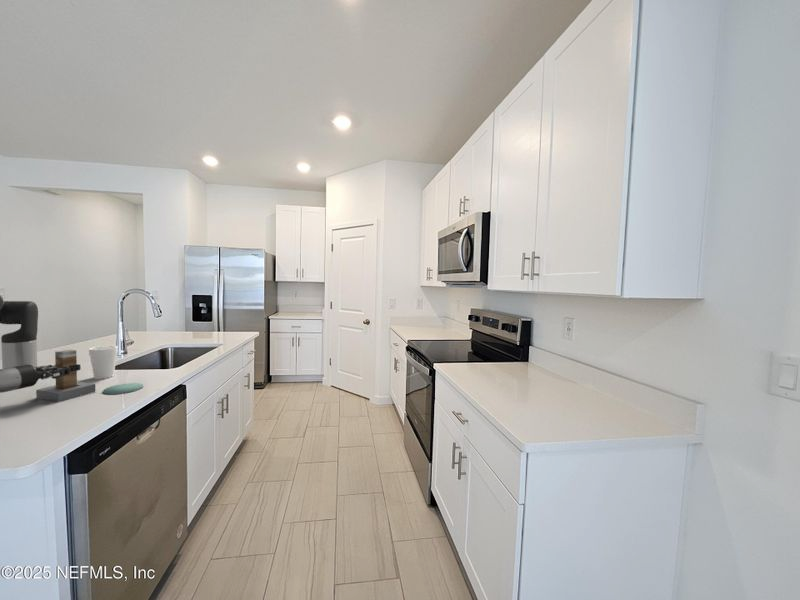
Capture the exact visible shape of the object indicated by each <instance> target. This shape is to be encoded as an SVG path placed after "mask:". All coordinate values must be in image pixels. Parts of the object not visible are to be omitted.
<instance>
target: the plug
mask: <svg viewBox="0 0 800 600" xmlns="http://www.w3.org/2000/svg"><path fill="white" fill-rule="evenodd" d="M54 354H55V355H54V357H55V359H54V360H55V362H54V363H55V364H54V365H55V367H57V366H58V367H65V366H72V365H77V364H78V363H77V361H78V360H77V358H78V357H77V350H75V349H64V350H57V351H55V352H54ZM77 374H78V371H73V372H70V374H69V375H65V376H62V377H59V378H56V379H55V385H56V389H62V390H64V389H68V388H72V387H76V386H77V381H78V375H77Z"/></svg>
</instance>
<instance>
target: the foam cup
mask: <svg viewBox="0 0 800 600" xmlns="http://www.w3.org/2000/svg"><path fill="white" fill-rule="evenodd" d="M118 348H119V347H118V345H101V346H93V347H89V348H88V355H89V357H90V364H91V368H92V373H93V378H95V379H94V380H103V379H102V378H105V379H109V378H108V377H110V378H112V377H111V376H113V375H114V374H115V369H116V362H117V355H118V352H119V349H118ZM113 377H114V376H113Z"/></svg>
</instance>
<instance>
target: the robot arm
mask: <svg viewBox="0 0 800 600" xmlns="http://www.w3.org/2000/svg"><path fill="white" fill-rule="evenodd" d="M38 320H39V308H38V305H37V303H35V302H34V301H29V300H27V301H26V300H24V301H23V300H22V301H21V300H19V301H18V300H17V301H16V300H7V301H6V300H4V298H3V297H2V295H0V324H1V325H20V328H19V329H17V330H14V331H12V332H7V333H5V334H3V335H1V337H0V338H1V339H0V340H1V341H0V343H1V363H2V364H1V366H2V367H1V369H0V394H2V393H7V392H12V391H17V390H20V389H25V388H30V387H33V386H35V385H36V384H37V382H38V381H39V380H48V379H49V378H52V379H54V380H56V378H59V377H62V376H65V375H69V374H70V372H73V371H77V372H78V371H80V370H81V364H79V363H77V365H72V366H65V367H58V366H57V367H55V364H54V365H53V364H47V365H40V366H39V365H38V346H37V345H38V342H37V341H38V340H37V339H38V337H37V335H38V324H39V322H38Z"/></svg>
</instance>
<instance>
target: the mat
mask: <svg viewBox="0 0 800 600" xmlns="http://www.w3.org/2000/svg"><path fill="white" fill-rule="evenodd" d="M142 387H143V388H144V384H143V383H139V382H129V383H128V382H127V383H121V384H115V385H111V386H109V387H106V388H104V389H103V391H102V392H103V394H104V393H106V394H105V395H120V394H119V393H123V394H128V392H129V393H133V392H136V390H137V391H140V390H141V389H143V388H142ZM132 391H133V392H132Z"/></svg>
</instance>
